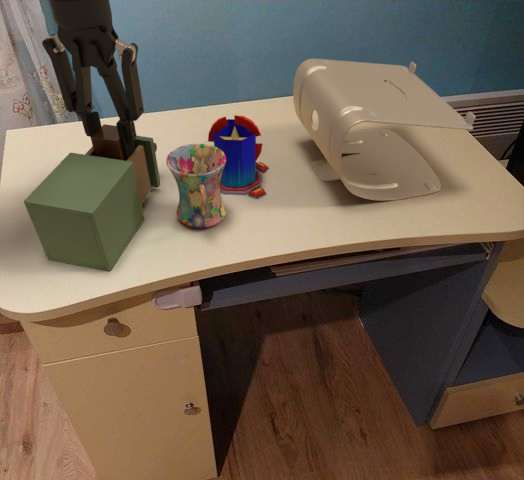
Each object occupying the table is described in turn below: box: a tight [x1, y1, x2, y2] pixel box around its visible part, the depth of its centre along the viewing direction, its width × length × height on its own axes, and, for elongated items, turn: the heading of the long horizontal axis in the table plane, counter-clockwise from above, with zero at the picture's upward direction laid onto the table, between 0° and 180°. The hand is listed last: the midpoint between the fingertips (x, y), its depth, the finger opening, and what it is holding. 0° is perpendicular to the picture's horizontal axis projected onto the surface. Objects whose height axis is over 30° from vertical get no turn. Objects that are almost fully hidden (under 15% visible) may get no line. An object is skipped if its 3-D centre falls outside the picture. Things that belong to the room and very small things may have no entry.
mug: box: [165, 143, 227, 228], centre depth 80 cm, size 12×9×11 cm
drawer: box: [84, 135, 161, 205], centre depth 84 cm, size 17×9×9 cm, turn 166°
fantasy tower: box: [207, 114, 270, 200], centre depth 88 cm, size 12×12×12 cm
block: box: [91, 123, 125, 161], centre depth 80 cm, size 4×4×4 cm
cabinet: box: [23, 152, 146, 272], centre depth 77 cm, size 14×11×11 cm
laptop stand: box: [292, 58, 476, 202], centre depth 90 cm, size 26×24×16 cm
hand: (116, 156), depth 81 cm, fingers closed on block, 4 cm apart
